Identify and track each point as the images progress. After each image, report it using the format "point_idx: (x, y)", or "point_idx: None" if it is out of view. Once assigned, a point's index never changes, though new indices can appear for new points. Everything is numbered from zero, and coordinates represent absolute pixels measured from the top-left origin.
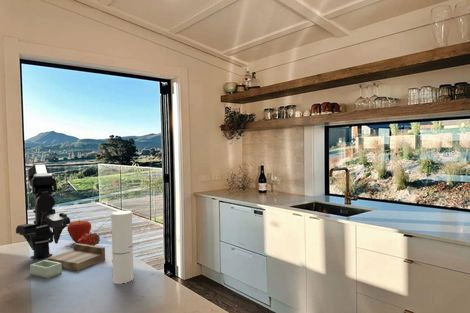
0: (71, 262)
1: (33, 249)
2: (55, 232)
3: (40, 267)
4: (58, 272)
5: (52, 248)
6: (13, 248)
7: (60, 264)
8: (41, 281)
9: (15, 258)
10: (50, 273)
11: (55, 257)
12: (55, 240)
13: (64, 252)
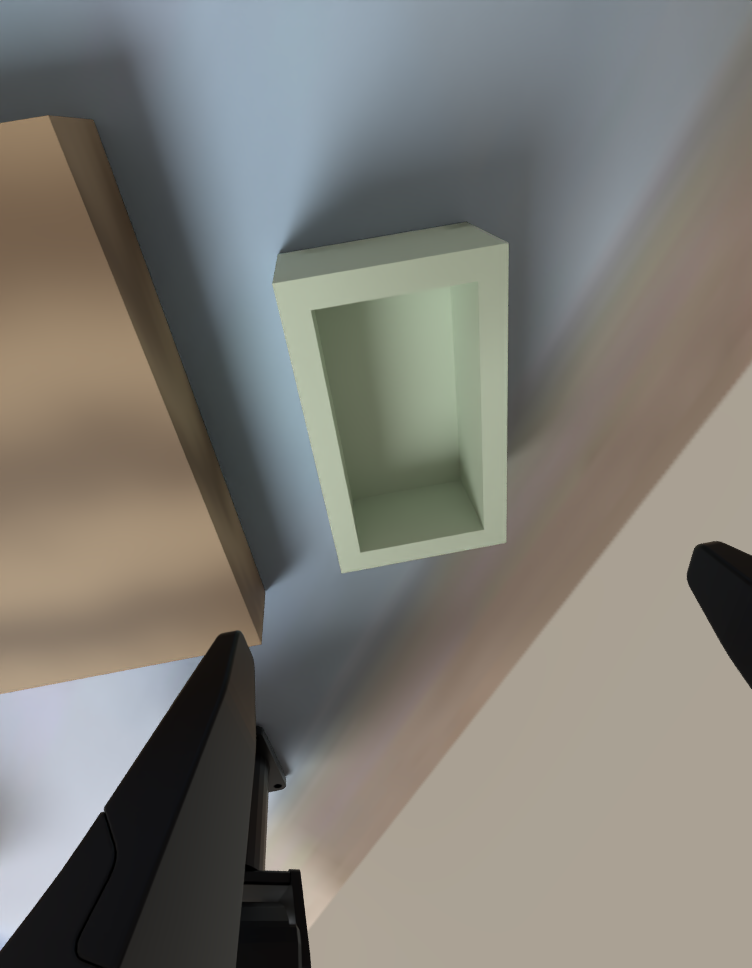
0: (115, 279)
1: (731, 555)
2: (201, 948)
3: (505, 379)
4: (322, 252)
5: None
6: None
7: (290, 278)
8: (541, 201)
9: (344, 813)
10: (437, 234)
11: (201, 607)
12: (245, 705)
13: (72, 676)
